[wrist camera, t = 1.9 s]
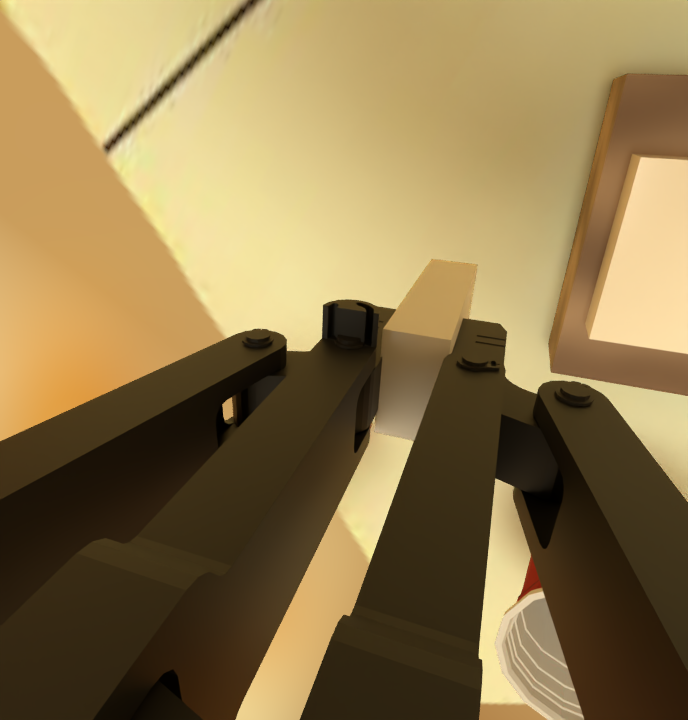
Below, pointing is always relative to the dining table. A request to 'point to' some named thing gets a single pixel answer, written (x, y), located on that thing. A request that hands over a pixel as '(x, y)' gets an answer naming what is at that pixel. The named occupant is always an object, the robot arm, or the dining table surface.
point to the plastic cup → (536, 655)
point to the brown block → (612, 158)
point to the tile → (646, 260)
